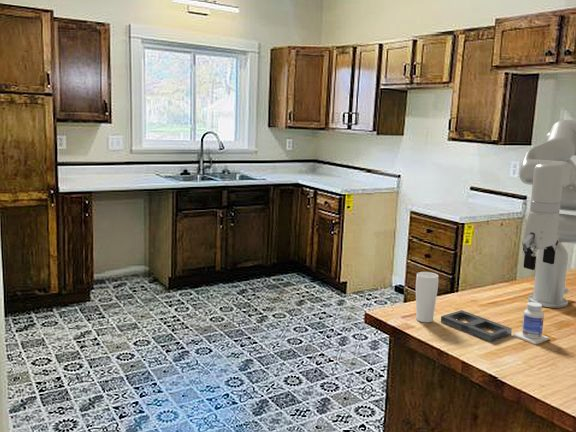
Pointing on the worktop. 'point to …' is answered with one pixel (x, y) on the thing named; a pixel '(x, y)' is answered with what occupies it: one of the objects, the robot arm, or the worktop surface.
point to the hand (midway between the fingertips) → (538, 265)
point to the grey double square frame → (476, 325)
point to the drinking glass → (426, 296)
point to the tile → (533, 341)
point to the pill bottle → (533, 321)
